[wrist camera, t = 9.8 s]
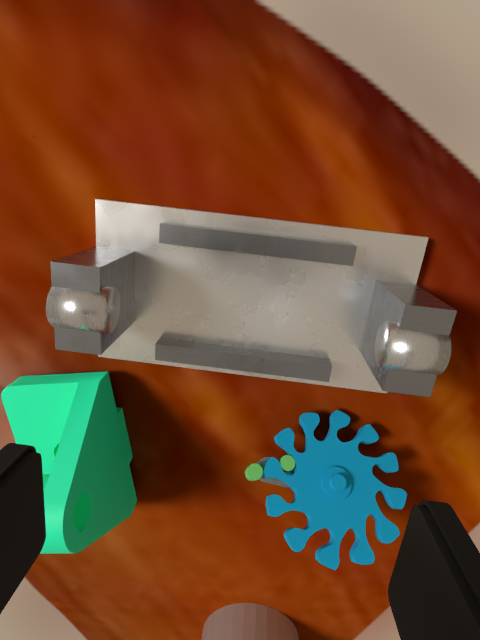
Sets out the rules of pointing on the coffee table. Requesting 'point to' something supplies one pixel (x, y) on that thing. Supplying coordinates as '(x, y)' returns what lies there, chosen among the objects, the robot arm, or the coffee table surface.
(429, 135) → the coffee table surface
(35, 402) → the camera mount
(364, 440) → the gear
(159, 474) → the coffee table surface
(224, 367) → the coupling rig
